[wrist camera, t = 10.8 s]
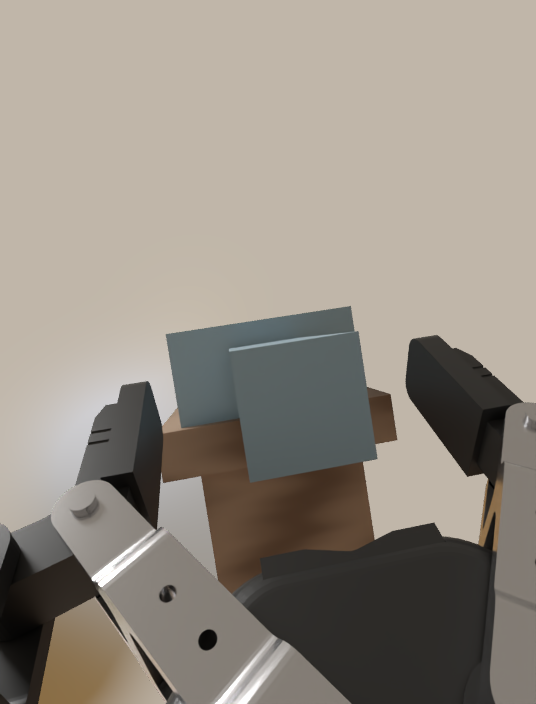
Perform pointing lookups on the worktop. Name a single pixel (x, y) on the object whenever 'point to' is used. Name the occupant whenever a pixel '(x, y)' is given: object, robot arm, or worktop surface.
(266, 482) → the walnut stand
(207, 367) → the blue-grey stepped block
